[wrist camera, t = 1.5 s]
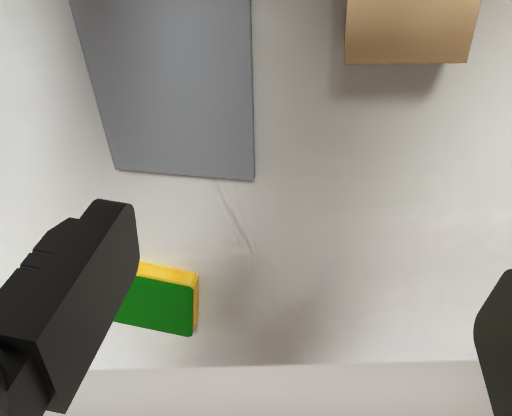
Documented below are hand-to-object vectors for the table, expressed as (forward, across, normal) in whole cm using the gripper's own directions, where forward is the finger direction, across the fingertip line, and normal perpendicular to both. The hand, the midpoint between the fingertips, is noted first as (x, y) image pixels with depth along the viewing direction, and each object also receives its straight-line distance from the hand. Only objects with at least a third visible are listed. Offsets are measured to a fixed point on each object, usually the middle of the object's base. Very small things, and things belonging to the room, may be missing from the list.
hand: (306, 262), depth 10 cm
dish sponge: (+19, +14, +25) cm, 34 cm away
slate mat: (+17, +9, +2) cm, 20 cm away
